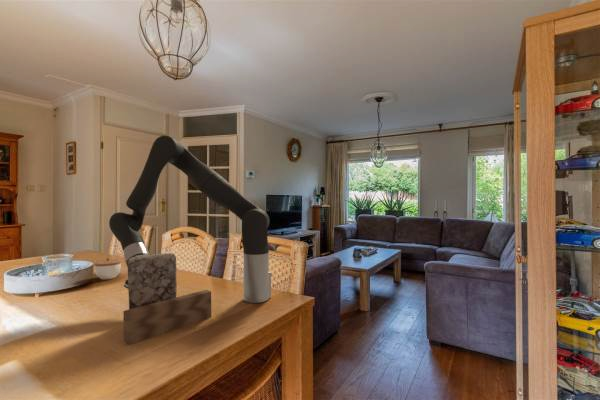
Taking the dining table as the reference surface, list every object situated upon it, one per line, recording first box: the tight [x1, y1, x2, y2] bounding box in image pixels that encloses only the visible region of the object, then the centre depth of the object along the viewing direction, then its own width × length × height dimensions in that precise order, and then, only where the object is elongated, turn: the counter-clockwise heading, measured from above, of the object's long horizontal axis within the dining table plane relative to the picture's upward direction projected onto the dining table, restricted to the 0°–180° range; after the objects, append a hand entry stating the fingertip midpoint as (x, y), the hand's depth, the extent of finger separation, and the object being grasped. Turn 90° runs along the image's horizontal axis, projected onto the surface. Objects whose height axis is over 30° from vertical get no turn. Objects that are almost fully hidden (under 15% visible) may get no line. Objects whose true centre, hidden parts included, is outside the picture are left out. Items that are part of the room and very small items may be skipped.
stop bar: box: [122, 289, 212, 346], centre depth 86 cm, size 24×3×8 cm, turn 138°
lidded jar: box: [94, 257, 122, 280], centre depth 141 cm, size 11×11×9 cm
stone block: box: [127, 252, 178, 310], centre depth 92 cm, size 13×7×20 cm, turn 114°
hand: (153, 302), depth 95 cm, fingers closed
